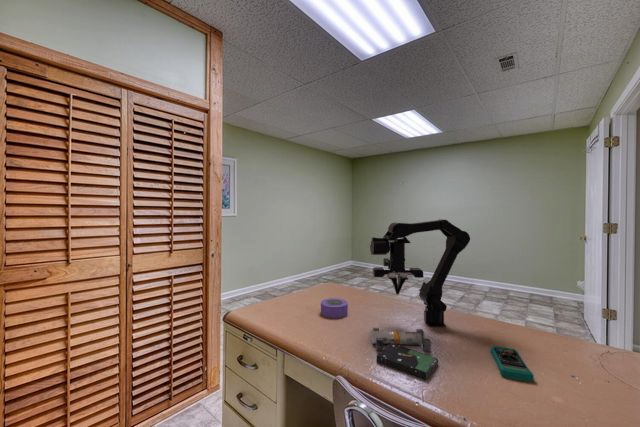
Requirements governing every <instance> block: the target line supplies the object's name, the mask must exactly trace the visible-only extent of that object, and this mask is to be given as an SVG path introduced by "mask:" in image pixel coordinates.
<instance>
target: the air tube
mask: <svg viewBox="0 0 640 427" xmlns="http://www.w3.org/2000/svg"><path fill="white" fill-rule="evenodd" d="M370 338H371V339H370V340H371V344H372V345H376V338H382V339H383V345H389V344H390V343H392V344H396V345H399V346H402V345H408V346H411V345H413V346H416V345H417V346H421V345H423V342H422V337H421V333H420V332H416V331H398V330H397V331H395V330H391V331H390V330H385V331H384V330H379V331H373V330H371V332H370Z"/></svg>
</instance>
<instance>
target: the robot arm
mask: <svg viewBox="0 0 640 427" xmlns="http://www.w3.org/2000/svg"><path fill="white" fill-rule="evenodd" d="M431 231H432V232H433V231H440V232H441V233H442V234H443V235H444V236H445V237H446V240H445V250H444V252H443V254H442V255H441V258H440V260H439V262H438V264H437V265H436V266H437V267H436V269H435V270H434V272H433V274H432V276H431V278H430V280H429V281H428V282H425V281H423V282H422V284H421V287H420V288H419V289H418V291H419V292H418V295H419V297H420V298H419V299H421V301H423V304H424V305H425V306H424V307H425V308H424V310H423V321H424V322H425V323H426V324H427V326H429V327H447V326H446V324H445V312H446V311H447V307H448V306H447V305H446V304H445V303H444V302H443V300H442V298H443V286H444V283H445V281H446V279H447V277H448V276H449V274H450V272H451V269H452V267H453V265H454V263H455V261H456V259H457V257H458V255H459V254H460V253H461V252H462V251H463V250H465V249H466V247H467V246H468V244H469V243H470V241H471V237H470V234H469V233H468V232H467V231H465V230H461V228H459V227H457V226H456V225H454V224H452V223H451V222H450V221H449V220H447V219H440V218H439V219H436V220H429V221H421V222H413V223H412V222H411V223H408V222H392V223H390V224H389V226H388V228H387V231H386V233H385V234H384V235H383V236H382V237H374V236H373V237H371V241H370V244H369V250H370V255H372V256H386V255H388V254H389V258H386V257H385V258H383V261H382V262H383V267H378V266H376V267H373V268H372V276H373V277H374V278H384V276H385V275H386V276H387V279H389V280H391V282H392V285H393V289H394V291H395V295H399V294H400V292H401V290H402V287H403V285H404V283H405V282H406V281H407V280H409V277H408V276H413V277H414V278H421V279H422V278H424V270H422V269H421V268H419V267H409V269H406V244H411V241H410V240H409V239H408V238H407V237H408V236H410V235H411V236H412V235H413V234H416V233H424V232H426V233H427V232H431ZM384 267H387V269H384ZM396 276H397V277H396Z"/></svg>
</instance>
